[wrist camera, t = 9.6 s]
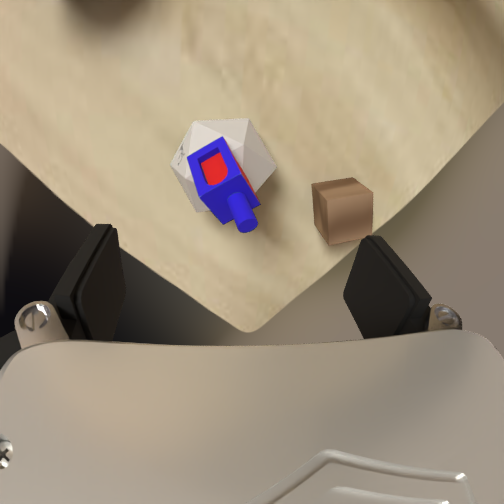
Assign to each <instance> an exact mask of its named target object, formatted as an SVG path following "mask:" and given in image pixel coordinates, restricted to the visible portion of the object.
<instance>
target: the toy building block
mask: <svg viewBox="0 0 504 504" xmlns="http://www.w3.org/2000/svg"><path fill="white" fill-rule="evenodd" d="M187 161H188V164H189V167H190V170H191V174H192V177H193V180H194V184H195V187H196V190H197V193H198V196H199V198H200V199H201V201H202V202H203V203H204V204H205V205H206V206H207V207H208V208H209V210H210V211H211V212H212V213H213V214H214V215H215V216H216V217H217V218H218V220H219V221H220V222H221V223H222V224H223V225H224V224H226V223H228V222H229V221H231V220H233V219H234V220H235V223H236V225H237V228H238V230H239V231H240V232H242V233H247V232H250V231H252V230H254V229H255V228H256V227H257V225H258V222H257V219H256V217H255V215H254V213H253V211H252V209H253V208H255V207H257V206H259V205H261V204H260V202H259V200H258V198H257V196H256V194H255V192H254V190H253V188H252V186H251V184H250V182H249V180H248V178H247V176H246V175H245V173H244V171H243V170H242V168H241V167H240V165H239V163H238V162H237V160H236V159H235V157H234V155H233V154H232V152H231V150H230V148H229V146H228V144H227V142H226V140H225V139H224V137H223V136H222V137H220V138H218V139H216V140H214V141H213V142H211V143H209V144H208V145H206V146H204V147H202V148H201V149H199V150H197V151H196V152H194V153H192V154H191V155H189V156H187Z"/></svg>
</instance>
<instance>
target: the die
mask: <svg viewBox="0 0 504 504" xmlns="http://www.w3.org/2000/svg"><path fill="white" fill-rule="evenodd" d="M222 136H223V137H224V139H225V140H226V142H227V144H228V146H229V148H230V150H231V152H232V154H233V155H234V157H235V159H236V160H237V162H238V163H239V165H240V167H241V168H242V170H243V171H244V173H245V175H246V176H247V178H248V180H249V182H250V184H251V186H252V188H253V190H254V192H255V193H256V191H257V190H258V189H259V188H260V187H261V186H262V184H263V183H264V182H265V181H266V180H267V179H268V177H269V176H270V175H271V174H272V173H273V172H274V170H275V169H276V168H277V166H276V164H275V163H274V161H273V159H272V157H271V155H270V154H269V152H268V150H267V148H266V147H265V145H264V143H263V141H262V140H261V138H260V136H259V135H258V133H257V131H256V129H255V128H254V126H253V124H252V123H251V121H250V119H249V118H246V119H219V120H202V121H193V123H192V125H191V127H190V128H189V130H188V132H187V134H186V135H185V137H184V139H183V141H182V143H181V144H180V146H179V148H178V150H177V152H176V154H175V156H174V158H173V159H172V161H171V163H170V166H171V168H172V169H173V171H174V173H175V175H176V177H177V179H178V180H179V182H180V184H181V186H182V188H183V189H184V191H185V193H186V195H187V197H188V198H189V200H190V202H191V204H192V205H193V207H194V209H195V211H196V212H203V211H210V210H209V208H208V207H207V206H206V205H205V204H204V203H203V202H202V201H201V199H200V198H199V196H198V193H197V190H196V187H195V184H194V180H193V177H192V174H191V170H190V167H189V164H188V161H187V156H189V155H191V154H192V153H194V152H196V151H197V150H199V149H201V148H202V147H204V146H206V145H208V144H209V143H211V142H213V141H214V140H216V139H218V138H220V137H222Z"/></svg>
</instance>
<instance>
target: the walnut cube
mask: <svg viewBox="0 0 504 504" xmlns="http://www.w3.org/2000/svg"><path fill="white" fill-rule="evenodd" d="M312 196H313V209H314V223H315V226H316V227H317V229H318V230H319V232H320V233H321V235H322V236H323V237H324V239H325V240H326V242H327V243H328V245H334V244H338V243H343V242H348V241H353V240H357V239H362V238H365V237H366V236H367V235H372V223H373V192H372V191H370V190H369V189H368V188H366V187H365V186H364V185H362V184H361V183H360V182H358V181H357V180H356V179H354V178H346V179H339V180H333V181H326V182H320V183H314V184H312Z"/></svg>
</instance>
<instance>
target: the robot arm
mask: <svg viewBox="0 0 504 504" xmlns="http://www.w3.org/2000/svg"><path fill="white" fill-rule="evenodd" d="M125 294H126V287H125V281H124V275H123V269H122V263H121V256H120V249H119V241H118V233H117V229H116V228H113V227H112V225H111V224H96V225H95V226H94V228H93V229H92V231H91V232H90V234H89V235H88V237H87V238H86V240H85V241H84V243H83V245H82V246H81V248H80V249H79V251H78V252H77V254H76V256H75V257H74V259H73V260H72V261H71V263H70V264H69V266H68V267H67V269H66V271H65V273H64V274H63V276H62V278H61V279H60V281H59V283H58V285H57V286H56V288H55V290H54V292H53V293H52V295H51V297H50V299H49V301H48V302H45V301H35V302H32V303H30V304H28V305H26V306H24V307H23V308H22V309H21V310H20V311H19V313H18V314H17V316H16V319H15V328H16V330H15V331H13V332H11V333H9V334H7V335H5V336H3V337H2V338H0V504H504V359H503V358H502V356H501V355H500V353H499V352H498V351H497V349H496V348H495V347H494V346H493V345H492V344H491V343H490V341H489V340H487V339H486V338H485V337H483V336H481V335H479V334H476V333H474V332H469V331H465V330H462V319H461V318H460V316H459V314H458V313H457V312H456V311H455V310H453V309H452V308H451V307H449V306H447V305H444V304H434V305H433V306H432V307H431V308H430V307H429V303H430V301H431V299H432V297H431V296H430V295H429V293H428V292H427V291H426V289H425V288H424V287H423V286H422V284H421V283H420V282H419V281H418V279H417V278H416V277H415V276H414V274H413V273H412V272H411V271H410V270H409V268H408V267H407V266H406V265H405V264H404V262H403V261H402V260H401V259H400V258H399V257H398V255H397V254H396V253H395V252H394V251H393V249H392V248H391V247H390V246H389V245H388V244H387V243H386V241H385V240H384V239H383V238H382V237H381V236H374V235H367V236H366V237H365V238H363V239H362V240H361V242H360V245H359V248H358V252H357V254H356V257H355V260H354V263H353V266H352V269H351V272H350V275H349V278H348V281H347V283H346V286H345V289H344V294H343V297H344V300H345V302H346V304H347V306H348V308H349V310H350V312H351V314H352V316H353V318H354V320H355V322H356V324H357V325H358V328H359V329H360V332H361V334H362V336H363V338H364V339H360V340H350V341H337V342H324V343H311V344H310V343H309V344H291V345H266V346H182V345H159V344H158V345H157V344H141V343H127V342H112V340H113V336H114V333H115V329H116V326H117V322H118V319H119V315H120V312H121V308H122V305H123V302H124V298H125Z"/></svg>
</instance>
